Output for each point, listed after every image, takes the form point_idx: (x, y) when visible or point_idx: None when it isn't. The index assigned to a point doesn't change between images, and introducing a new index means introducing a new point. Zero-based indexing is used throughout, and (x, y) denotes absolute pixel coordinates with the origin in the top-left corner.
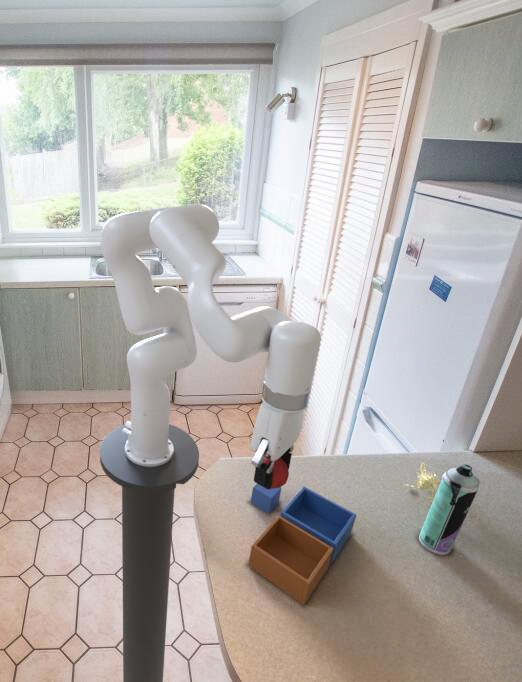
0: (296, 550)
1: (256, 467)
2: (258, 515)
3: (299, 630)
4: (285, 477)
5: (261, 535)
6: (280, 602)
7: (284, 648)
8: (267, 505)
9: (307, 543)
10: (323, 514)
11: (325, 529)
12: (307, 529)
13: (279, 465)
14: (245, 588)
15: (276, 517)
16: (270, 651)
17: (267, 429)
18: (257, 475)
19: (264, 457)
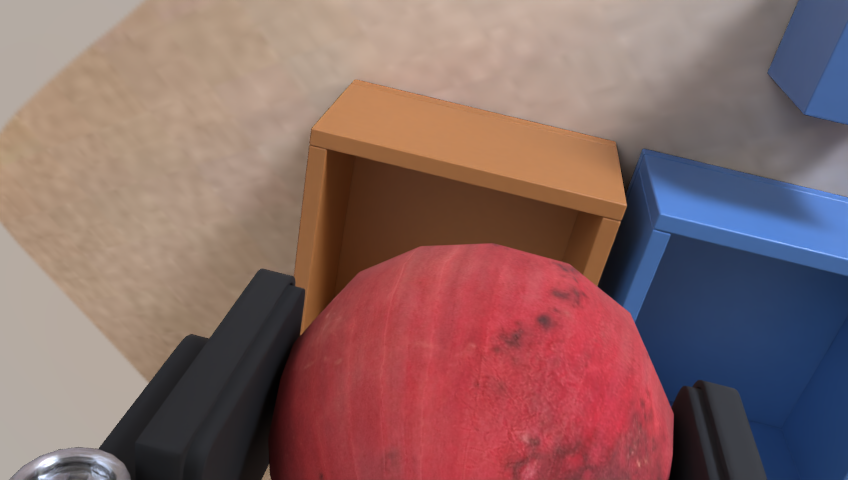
0: (552, 258)
1: (162, 414)
2: (725, 22)
3: (222, 312)
4: None
5: (410, 157)
6: (276, 240)
7: (132, 282)
8: (788, 73)
9: None
10: (845, 349)
11: (756, 351)
12: None
13: None
14: (240, 104)
15: (598, 200)
16: (91, 247)
17: None
18: (145, 393)
19: (451, 476)
